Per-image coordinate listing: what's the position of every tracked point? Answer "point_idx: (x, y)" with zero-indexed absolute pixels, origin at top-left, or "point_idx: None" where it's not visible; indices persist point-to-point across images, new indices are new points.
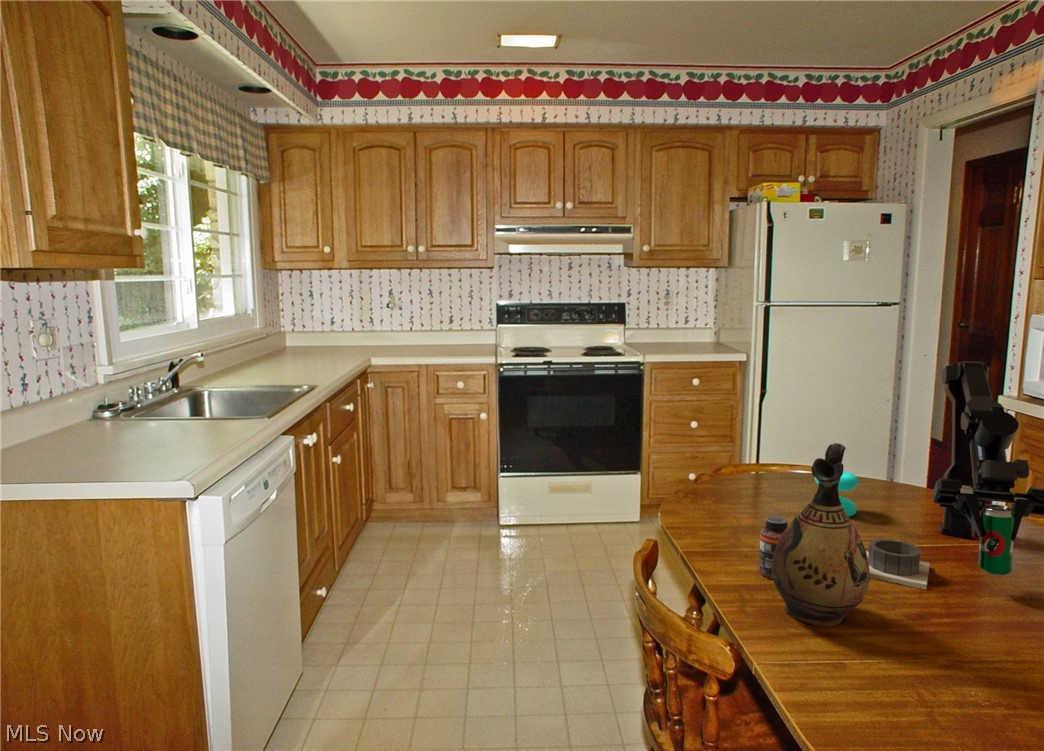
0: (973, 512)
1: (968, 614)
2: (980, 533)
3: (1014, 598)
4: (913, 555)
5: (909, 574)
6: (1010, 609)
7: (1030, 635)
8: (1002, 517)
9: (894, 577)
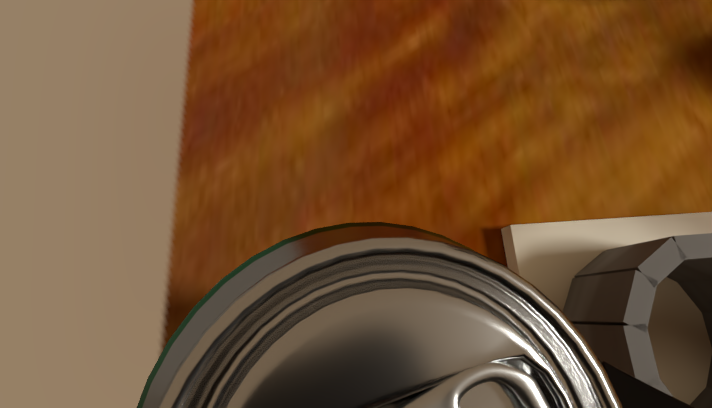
0: (649, 392)
1: (363, 111)
2: None
3: None
4: (635, 283)
5: (580, 273)
6: (248, 230)
7: (200, 63)
8: (305, 239)
9: (607, 225)
